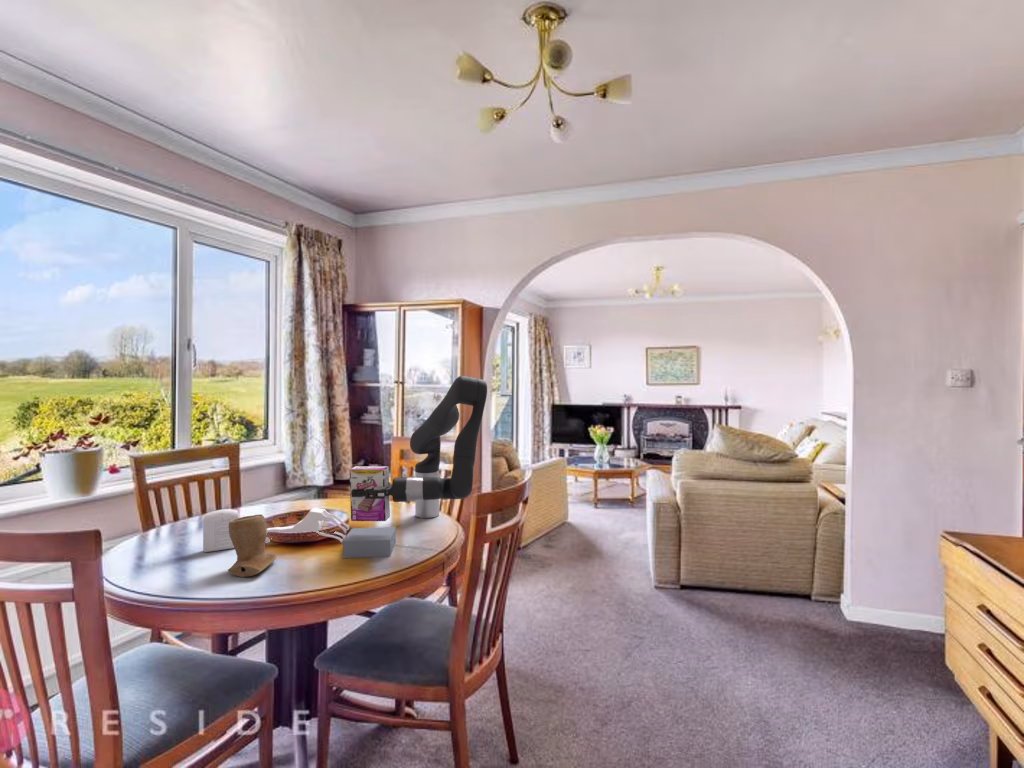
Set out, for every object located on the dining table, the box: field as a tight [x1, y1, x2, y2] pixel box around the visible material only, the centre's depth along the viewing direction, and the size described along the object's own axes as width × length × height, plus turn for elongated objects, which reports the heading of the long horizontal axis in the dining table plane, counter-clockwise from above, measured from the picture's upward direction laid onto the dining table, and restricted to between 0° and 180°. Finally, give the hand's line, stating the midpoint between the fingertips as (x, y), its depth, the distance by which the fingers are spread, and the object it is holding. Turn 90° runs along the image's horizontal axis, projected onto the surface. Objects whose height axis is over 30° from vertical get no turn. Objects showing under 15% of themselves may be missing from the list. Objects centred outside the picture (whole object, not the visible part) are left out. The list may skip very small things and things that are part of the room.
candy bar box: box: [349, 465, 391, 522], centre depth 170 cm, size 11×5×16 cm, turn 86°
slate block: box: [341, 526, 397, 559], centre depth 170 cm, size 14×14×5 cm
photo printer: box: [202, 508, 241, 553], centre depth 172 cm, size 10×4×12 cm, turn 123°
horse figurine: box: [265, 507, 351, 545], centre depth 179 cm, size 5×16×25 cm
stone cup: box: [227, 514, 277, 578], centre depth 154 cm, size 15×12×15 cm
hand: (353, 491), depth 170 cm, fingers closed on candy bar box, 5 cm apart
